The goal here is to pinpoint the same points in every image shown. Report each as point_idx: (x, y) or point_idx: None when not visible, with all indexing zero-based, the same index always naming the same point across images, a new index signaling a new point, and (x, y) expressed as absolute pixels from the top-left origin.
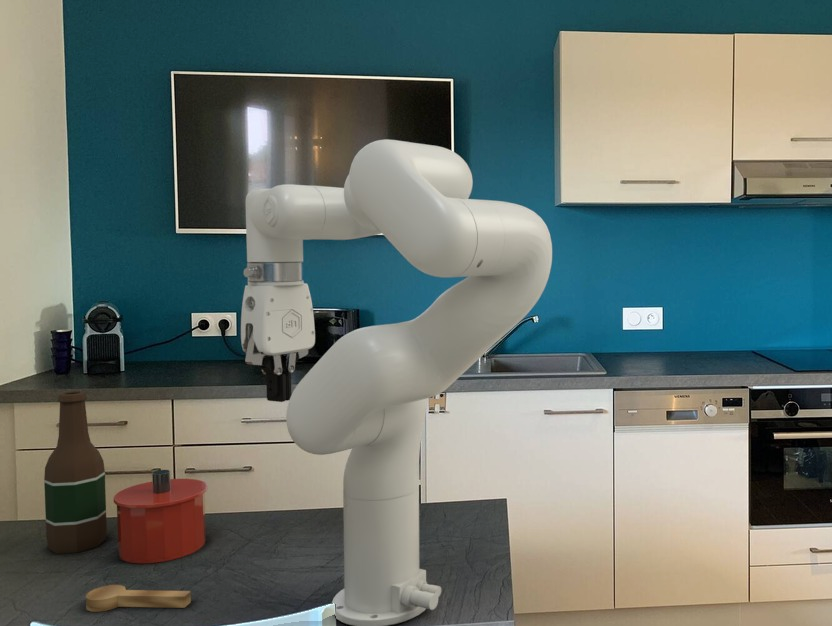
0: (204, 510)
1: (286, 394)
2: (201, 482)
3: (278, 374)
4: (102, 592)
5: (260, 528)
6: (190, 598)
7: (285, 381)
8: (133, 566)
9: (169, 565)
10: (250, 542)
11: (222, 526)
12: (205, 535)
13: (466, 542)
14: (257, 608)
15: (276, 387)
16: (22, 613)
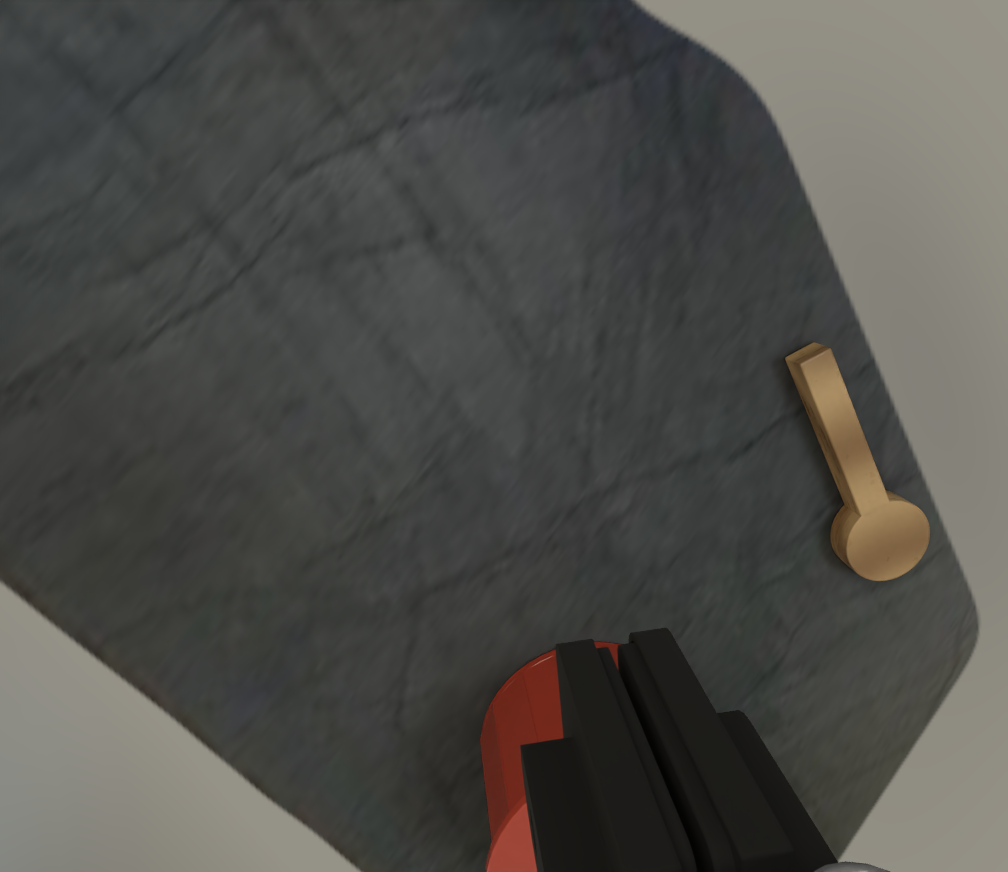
0: (513, 753)
1: (619, 682)
2: (499, 863)
3: (857, 866)
4: (893, 546)
5: (337, 658)
6: (793, 357)
7: (704, 770)
8: None
9: (652, 619)
10: (428, 586)
11: (394, 756)
12: (498, 702)
13: None
14: (731, 160)
15: (751, 769)
16: (966, 631)
